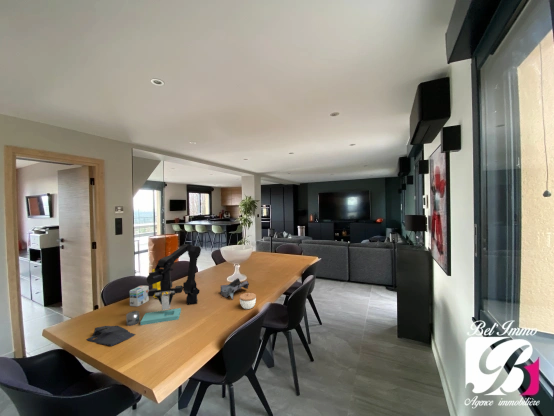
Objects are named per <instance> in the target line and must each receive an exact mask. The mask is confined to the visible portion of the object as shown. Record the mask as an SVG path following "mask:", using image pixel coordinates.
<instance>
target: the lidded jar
mask: <svg viewBox="0 0 554 416" xmlns="http://www.w3.org/2000/svg"><path fill="white" fill-rule="evenodd" d="M256 302H257V294H255V293H253V292H246V293H244V292H243V293H242V294H240V295H239V303H240V306H241V307H242V309H244V310H250V309H253V308H254V307H255V305H256Z"/></svg>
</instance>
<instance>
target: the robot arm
mask: <svg viewBox="0 0 554 416" xmlns="http://www.w3.org/2000/svg"><path fill="white" fill-rule="evenodd" d="M186 252H187V255H188V257H189V263H188V270H187V279H186V280H185V281H183V284H182V285H175V287H173V280H171V271H174V269H173V268H172V266H173V265H174V263H175V261H176V260H178V259H179V258H180V257H181V256H183V255H184V254H186ZM201 252H202V249H201V246H199V245H191V244H188V243H187V244H185V243H184V244H182V245H181V246H180V247H179V248H177V249H176V250H174V251H173V252H172V253H171V254H169V255H167V256H164V257H162V258H159V260H158V261H157V264H156V266H155V268H153V269H154V271H155V272H152V271H151V272H149V273H148V275H147V278H146V282H147V284H148V286H149V285H150V286H152V284H155V283H158V282H160V290H157V288H153V287H152V288H150V289H149V292H148V296H149V297H153V296H154V295H155V297H157V298H158V299H157V298H156V299H157V300H158V301H159V302H160V304H161V306H162V293H164V294H165V292H168V293H170V299H169V304H172V300H173V297H174V295H176V294H181V293H182V292H183V293H184V294H185V295H186V297H185V298H186V299H185V300H186V305H187V306H189V305H197V304H198V301H199V300H198V295H199V294H200V289H199V288H198V287H197V282H196V271H197V263H198V258H199V257H200V255H201Z"/></svg>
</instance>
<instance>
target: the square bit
mask: <svg viewBox="0 0 554 416" xmlns="http://www.w3.org/2000/svg"><path fill="white" fill-rule="evenodd" d="M170 293H171V292H168V294H165V293H164V294H163V295H162V305H161V311H163V310H170V308H171V304H172V303H171V304H169V299H170Z"/></svg>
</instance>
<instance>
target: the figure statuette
mask: <svg viewBox="0 0 554 416" xmlns="http://www.w3.org/2000/svg"><path fill="white" fill-rule="evenodd" d="M154 269H155V268H153V269H151V272H155V271H154ZM151 286H152V289H153V288H157V290H160V282H158V283H155V284H152V285H151ZM163 294H169V292H164V293H162V295H163ZM152 297H153V298H154V299H157V300H158V298H157V297H155V295H154V296H152Z"/></svg>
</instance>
